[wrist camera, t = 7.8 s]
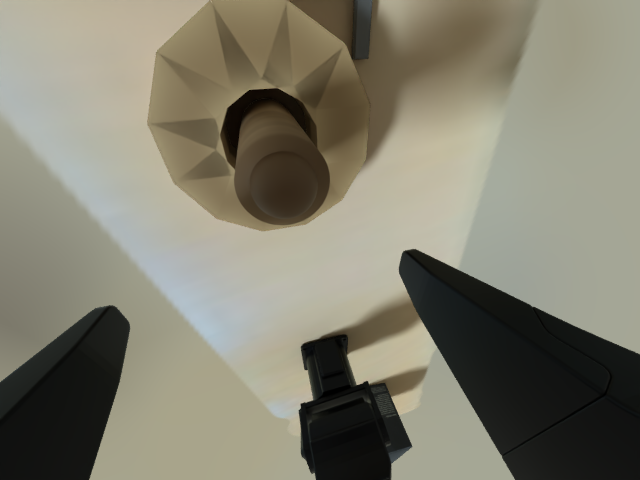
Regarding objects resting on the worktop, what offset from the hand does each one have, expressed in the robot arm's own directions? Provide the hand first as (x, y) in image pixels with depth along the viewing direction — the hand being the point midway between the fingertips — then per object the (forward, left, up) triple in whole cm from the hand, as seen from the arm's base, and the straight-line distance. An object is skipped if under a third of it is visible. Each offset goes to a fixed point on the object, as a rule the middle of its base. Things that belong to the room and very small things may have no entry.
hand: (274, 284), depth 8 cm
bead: (+2, -1, -12) cm, 12 cm away
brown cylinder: (+2, -1, -12) cm, 12 cm away
